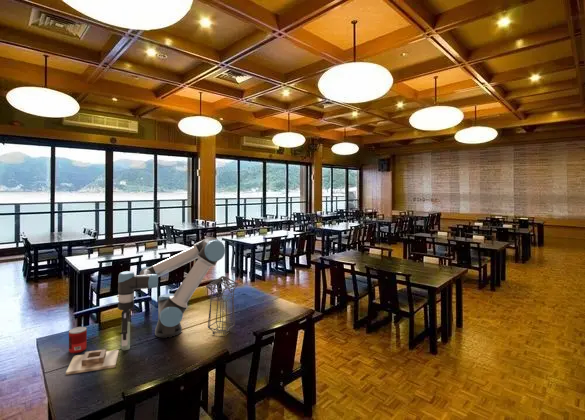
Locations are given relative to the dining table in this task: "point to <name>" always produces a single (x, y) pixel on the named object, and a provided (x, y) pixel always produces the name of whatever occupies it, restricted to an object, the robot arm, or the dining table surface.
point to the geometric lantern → (223, 302)
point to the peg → (128, 339)
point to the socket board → (104, 365)
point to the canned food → (77, 339)
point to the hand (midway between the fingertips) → (125, 339)
